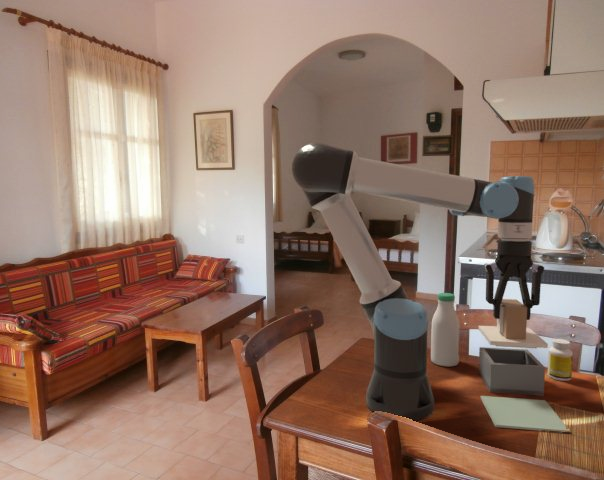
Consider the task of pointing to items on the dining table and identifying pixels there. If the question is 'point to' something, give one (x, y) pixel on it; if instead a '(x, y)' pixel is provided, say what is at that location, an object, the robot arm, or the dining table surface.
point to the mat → (522, 414)
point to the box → (511, 371)
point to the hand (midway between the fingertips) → (510, 331)
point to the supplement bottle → (560, 360)
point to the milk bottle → (445, 332)
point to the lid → (513, 328)
